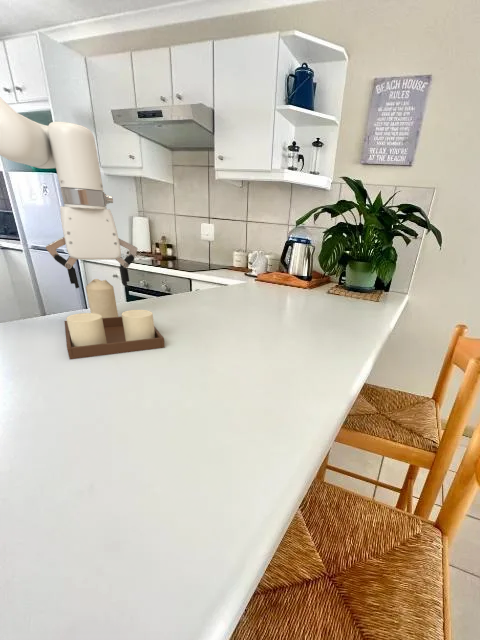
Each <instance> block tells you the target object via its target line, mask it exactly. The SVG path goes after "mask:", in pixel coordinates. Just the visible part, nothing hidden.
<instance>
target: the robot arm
mask: <svg viewBox="0 0 480 640" xmlns="http://www.w3.org/2000/svg"><path fill="white" fill-rule="evenodd" d="M0 156H1V157H3V158H4V159H6V160H8V161H10V162H14V163H18V164H22V165H26V166H29V167H33V168H37V169H46V170H47V169H48V170H49V169H55V170H56V174H57V179H58V183H59V187H60V192H61V196H62V201H63V206H60V209H59V211H60V221H61V228H62V234H63V236H62V237H60V238H58V239H56V240H54V241H52V242H50V243H48V244H46V245H45V250H46V251H47V252H48V253H49V254H50V256H51V257H52V258H53V259H54V260H55V261H56V262H57V263H59V265H61V266H63V267H64V268H65V269H67V274H68V278H69V282H70V284H71V285H73V284H74V287H75V289H79V288H80V284H79V280H78V275H77V271H76V267H74V265H75V264H76V262H77V261H78V260H81V261H82V260H83V261H84V260H86V261H87V260H89V261H90V260H91V261H92V260H94V261H97V260H99V261H100V260H104V261H105V260H106V261H107V260H115V261H116V262H118V263H119V268H118V269H119V273H120V279H121V284H122V285H123V286H124V287H128V282H129V283H130V275H129V270H128V268H129V267H130V265H131V264H132V263H133V262H134V260H135V257H136V255H137V253H138V250H139V249H138V247H137V246H135V245H133V244H131V243H129V242H127V241H125V240H123V239H121V238H119V235H118V231H117V226H116V222H115V220H114V217H113V214H112V210H111V209H109V208H107V207H108V205H109V204H114V199H113V196H112V195H109V194H106V193H105V191H104V186H103V180H102V174H101V168H100V162H99V157H98V151H97V145H96V140H95V136H94V134H93V132H92V130H91V129H89V128H88V127H86V126H84V125H80V124H77V123H73V122H68V121H52V122H50V123H48V125H46V124H43V123H40V122H37V121H34V120H32V119H31V118H28V117H26V116H24V115H22V114H21V113H18V112H17V111H16V110H15V109H14V108H12V107H11V106H10V105H9V104H8V103H7V102H6V101H5V100H4V99H3V98H2V97H1V96H0ZM63 246H65V247H66V251H67V254H68V257H67V259H66V258H64V257H63V256H62V255H60V254H59V252H57V250H58V249H59V248H62V247H63ZM121 247H122V248H125V249H127V250H128V251H129V252H128V254H127V256H126V257H125V258H123V257H122V248H121Z"/></svg>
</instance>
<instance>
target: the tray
mask: <svg viewBox="0 0 480 640" xmlns="http://www.w3.org/2000/svg"><path fill="white" fill-rule="evenodd" d="M102 320H103V325H104V331H105V336H106V341H107V343H105V344H96V345H87V346H78V347H73V344H72V340H71V336H70V332H69V328H68V324H67V320H64V322H63V323H64V331H65V342H66V343H65V344H66V351H67V355H68V358H69V360H78V359H86V358H93V357H94V358H95V357H102V356H103V357H104V356H109V355H118V354H119V355H120V354H126V353H127V354H128V353H132V352H133V353H134V352H141V351H150V350H157V349H166V345H165V344H166V343H165V337H164V336H163V335H162V334H161V332H160V331H159V330H158V329H157V327H156V326H155V325H154V330H155V338H152V339H142V340H133V341H126V339H125V333H124V326H123V320H122V316H118V317H110V318H102Z"/></svg>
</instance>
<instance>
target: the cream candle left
mask: <svg viewBox="0 0 480 640" xmlns="http://www.w3.org/2000/svg"><path fill="white" fill-rule="evenodd" d="M65 320H66V321H67V324H68V328H69V332H70V336H71V340H72V344H73V347H78V346H87V345H96V344H105V343H107V341H106V336H105V331H104V325H103V320H102V316H101V315H99V314H95V313H91V312H80V313H75V314H71V315H68V316H67V317H66V319H65Z"/></svg>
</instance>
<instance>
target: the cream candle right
mask: <svg viewBox="0 0 480 640" xmlns="http://www.w3.org/2000/svg"><path fill="white" fill-rule="evenodd" d="M121 317H122V320H123V326H124V333H125V339H126V341H133V340H142V339H152V338H155V330H154V326H155V323H154V322H155V321H154V313H153V312H152V311H150V310H146V309H130V310H126V311H123V312H122V313H121Z"/></svg>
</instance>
